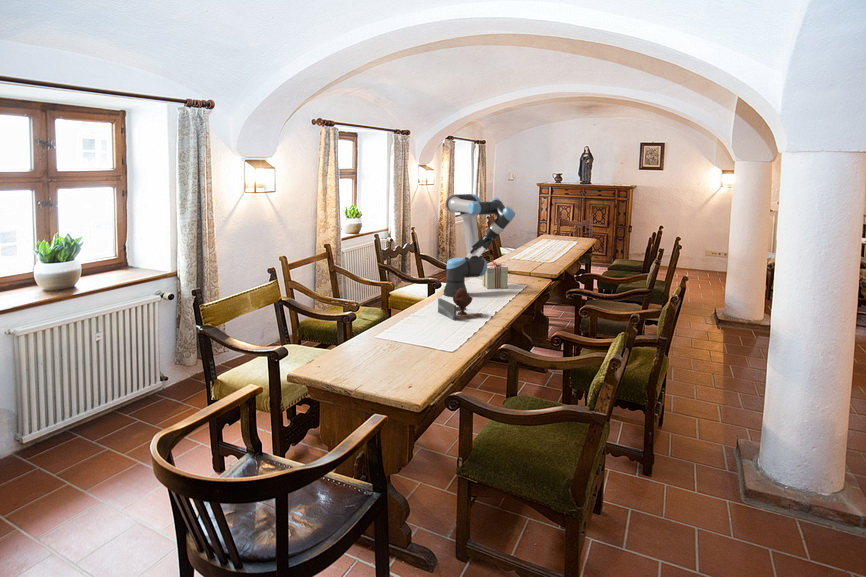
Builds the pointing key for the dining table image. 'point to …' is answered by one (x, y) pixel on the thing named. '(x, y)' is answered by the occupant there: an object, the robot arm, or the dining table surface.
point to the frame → (453, 311)
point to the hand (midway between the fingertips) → (472, 256)
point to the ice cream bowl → (462, 300)
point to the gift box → (495, 276)
